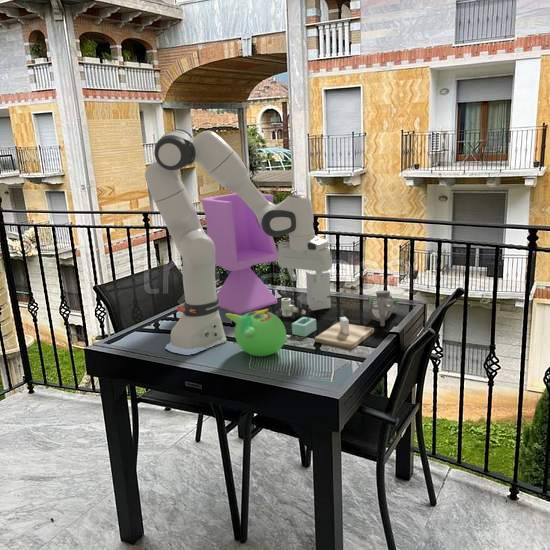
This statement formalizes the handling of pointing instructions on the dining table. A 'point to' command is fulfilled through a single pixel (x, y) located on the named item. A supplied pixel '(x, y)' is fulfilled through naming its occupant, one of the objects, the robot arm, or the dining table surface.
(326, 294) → the skincare box
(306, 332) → the teal collar
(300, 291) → the dining table surface
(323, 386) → the dining table surface
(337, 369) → the dining table surface
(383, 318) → the mechanical component
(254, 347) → the toy bird
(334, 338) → the oak plate
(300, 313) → the valve
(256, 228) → the chair
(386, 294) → the pipe fitting
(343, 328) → the steel key shaft
